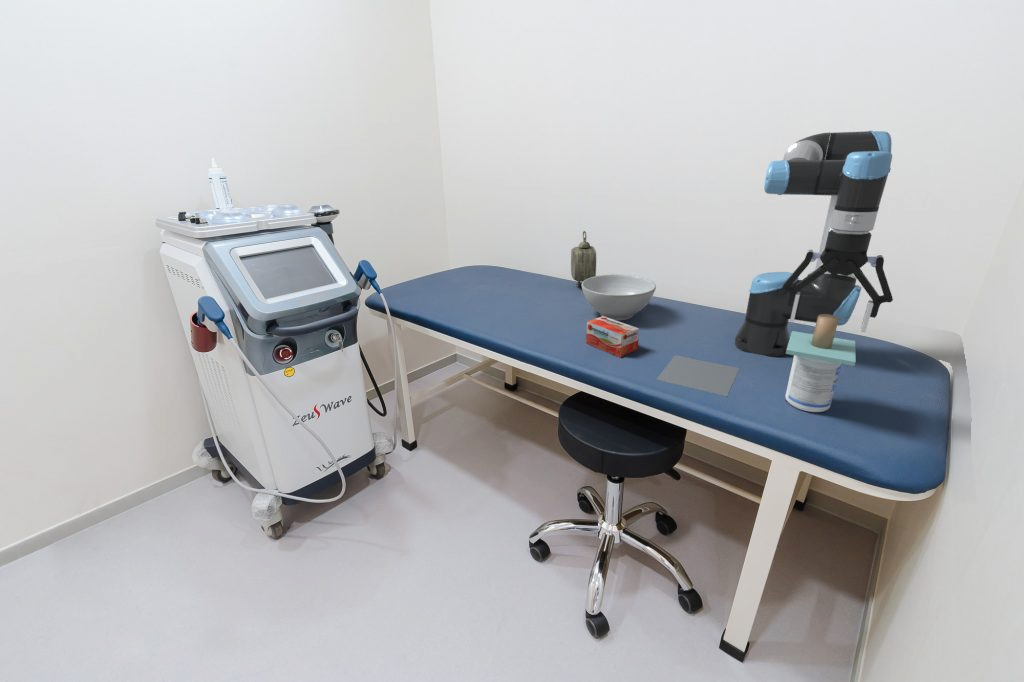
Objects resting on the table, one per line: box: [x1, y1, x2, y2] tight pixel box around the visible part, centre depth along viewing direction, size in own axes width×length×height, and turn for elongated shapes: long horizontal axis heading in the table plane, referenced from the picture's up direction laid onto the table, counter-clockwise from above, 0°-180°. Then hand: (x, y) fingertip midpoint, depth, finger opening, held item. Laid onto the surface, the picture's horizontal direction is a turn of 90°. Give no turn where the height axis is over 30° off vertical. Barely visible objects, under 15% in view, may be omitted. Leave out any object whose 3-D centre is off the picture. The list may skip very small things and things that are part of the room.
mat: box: [656, 354, 740, 397], centre depth 128 cm, size 18×18×1 cm
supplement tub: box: [785, 355, 842, 413], centre depth 111 cm, size 10×10×15 cm
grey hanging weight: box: [570, 230, 597, 288], centre depth 204 cm, size 14×9×25 cm, turn 1°
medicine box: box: [585, 316, 640, 358], centre depth 146 cm, size 15×8×8 cm, turn 38°
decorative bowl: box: [581, 274, 657, 321], centre depth 172 cm, size 27×27×12 cm
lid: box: [785, 314, 857, 367], centre depth 106 cm, size 13×13×8 cm
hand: (826, 324), depth 105 cm, fingers open, 13 cm apart
